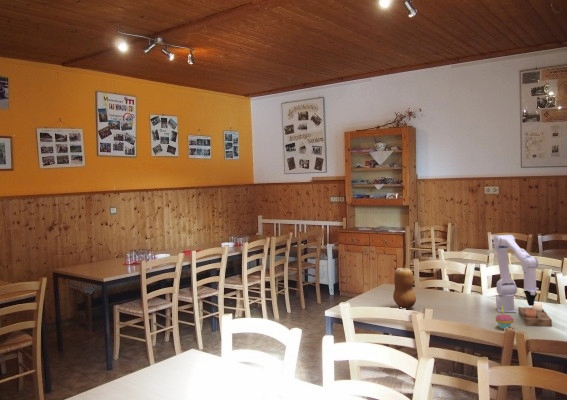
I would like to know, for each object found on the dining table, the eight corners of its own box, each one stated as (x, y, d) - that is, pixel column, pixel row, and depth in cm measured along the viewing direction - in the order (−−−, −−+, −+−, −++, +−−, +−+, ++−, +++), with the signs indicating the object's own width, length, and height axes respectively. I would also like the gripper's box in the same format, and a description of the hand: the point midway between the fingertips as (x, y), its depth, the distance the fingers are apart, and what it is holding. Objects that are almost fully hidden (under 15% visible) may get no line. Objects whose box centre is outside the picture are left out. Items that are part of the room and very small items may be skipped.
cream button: (533, 314, 257) (533, 305, 257) (531, 311, 262) (531, 302, 262) (543, 314, 256) (542, 305, 256) (541, 311, 260) (541, 303, 260)
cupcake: (492, 326, 249) (491, 303, 248) (507, 324, 249) (507, 302, 249) (501, 331, 240) (500, 308, 239) (517, 329, 241) (516, 306, 240)
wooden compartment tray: (526, 325, 246) (526, 319, 246) (518, 313, 267) (518, 307, 267) (551, 326, 243) (551, 319, 242) (542, 313, 264) (541, 307, 263)
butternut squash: (420, 309, 285) (419, 268, 284) (402, 313, 280) (400, 271, 278) (406, 304, 298) (404, 265, 296) (388, 307, 293) (387, 268, 291)
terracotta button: (527, 319, 249) (526, 310, 249) (525, 316, 254) (524, 307, 253) (537, 319, 248) (536, 310, 247) (535, 317, 252) (534, 307, 252)
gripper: (541, 283, 242) (542, 309, 242) (535, 276, 255) (536, 301, 256) (526, 282, 244) (527, 308, 244) (520, 276, 258) (521, 301, 258)
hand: (530, 305), depth 250 cm, fingers closed
